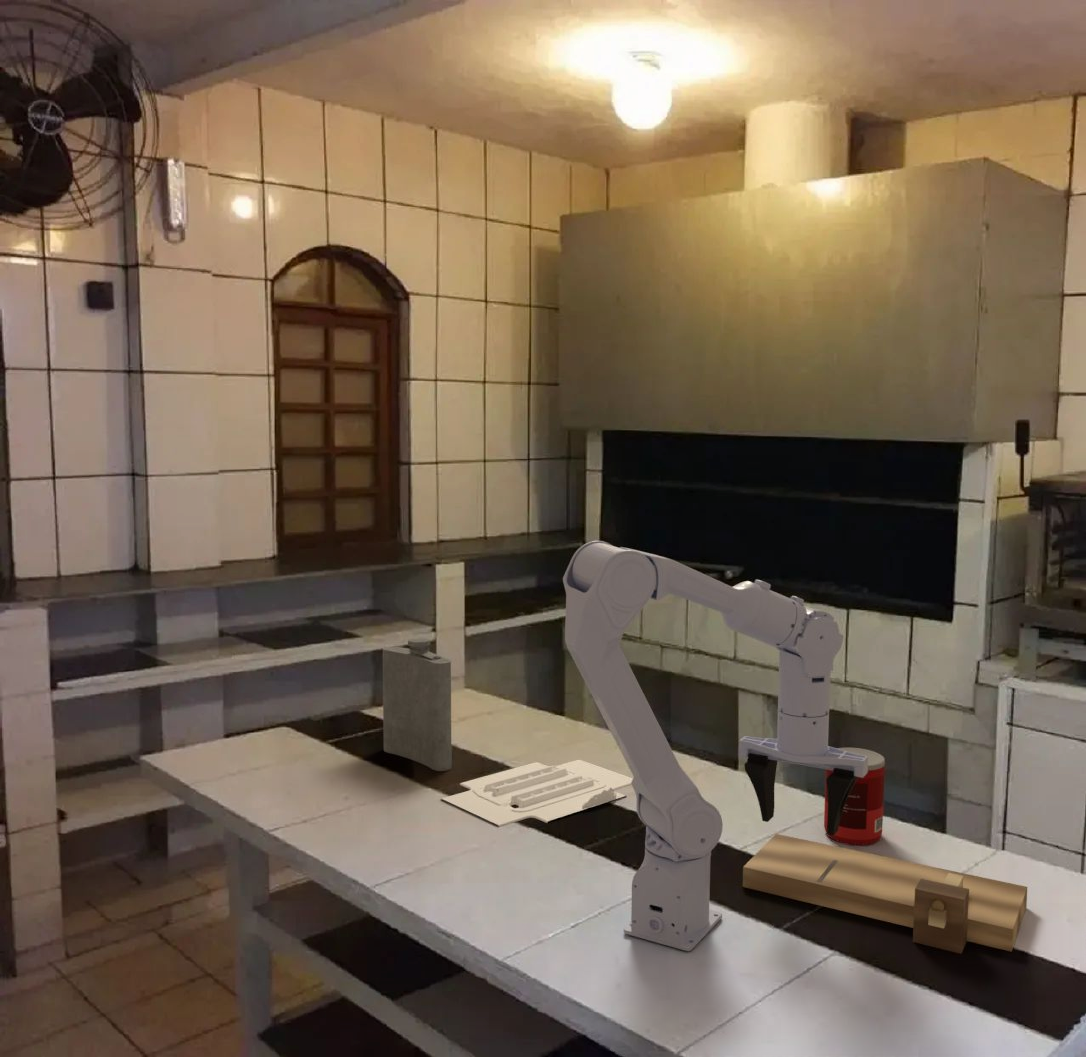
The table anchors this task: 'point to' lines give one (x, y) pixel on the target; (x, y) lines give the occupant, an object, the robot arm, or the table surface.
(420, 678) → the hip flask
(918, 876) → the oak board
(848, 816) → the canned food
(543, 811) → the tray
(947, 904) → the brown block with bar
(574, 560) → the robot arm
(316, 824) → the table surface
